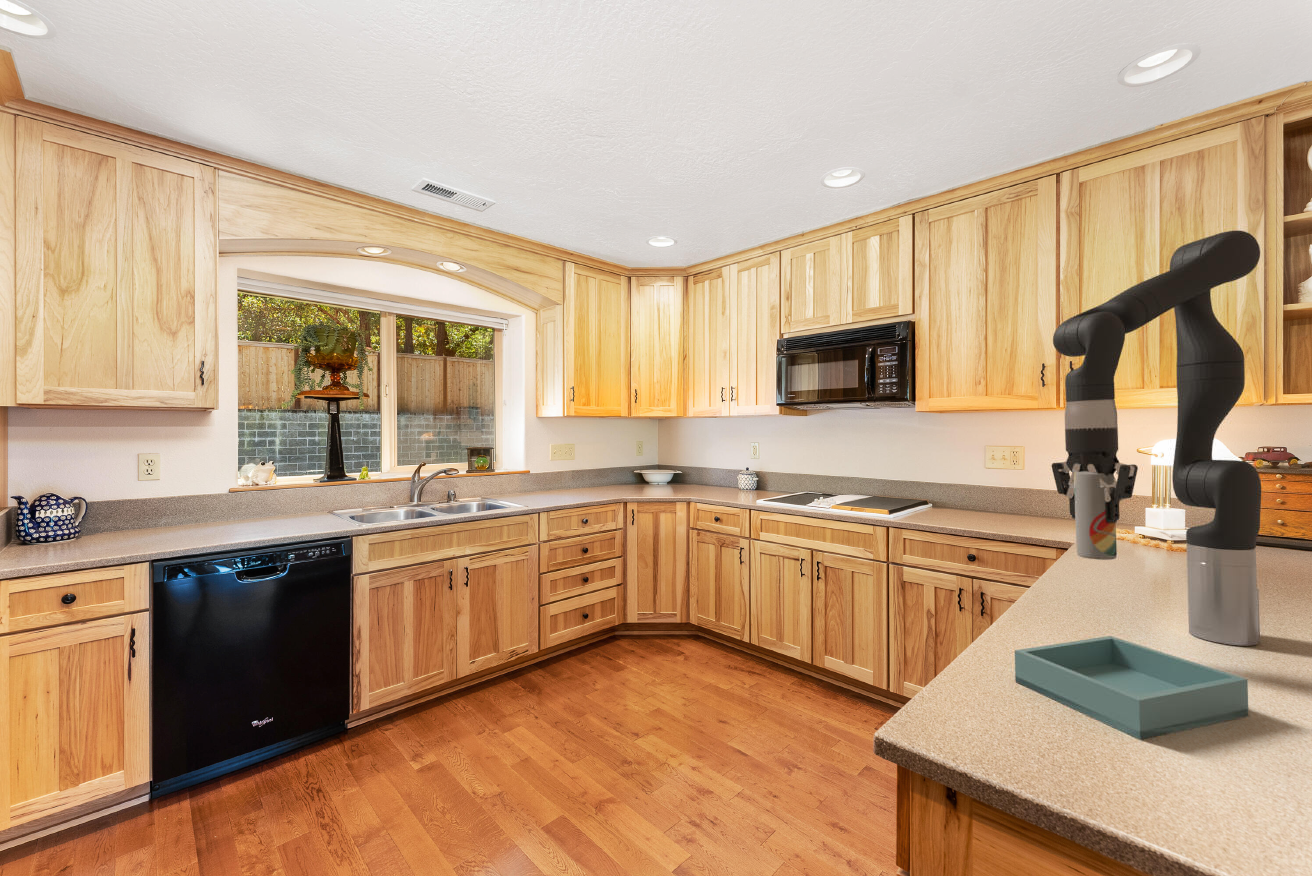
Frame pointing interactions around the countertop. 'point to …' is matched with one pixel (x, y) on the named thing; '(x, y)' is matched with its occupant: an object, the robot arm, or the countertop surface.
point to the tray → (1132, 685)
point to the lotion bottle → (1093, 513)
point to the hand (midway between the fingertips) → (1093, 520)
